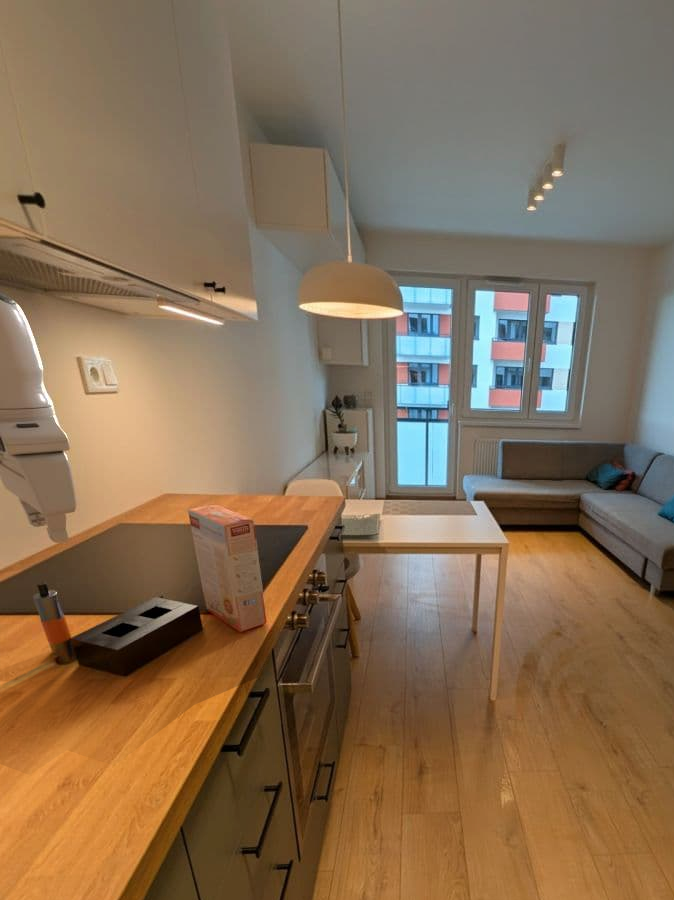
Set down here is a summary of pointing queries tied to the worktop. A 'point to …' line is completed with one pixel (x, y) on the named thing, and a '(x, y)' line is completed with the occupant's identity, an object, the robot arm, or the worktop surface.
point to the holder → (137, 636)
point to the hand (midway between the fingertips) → (49, 532)
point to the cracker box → (228, 566)
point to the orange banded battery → (54, 624)
